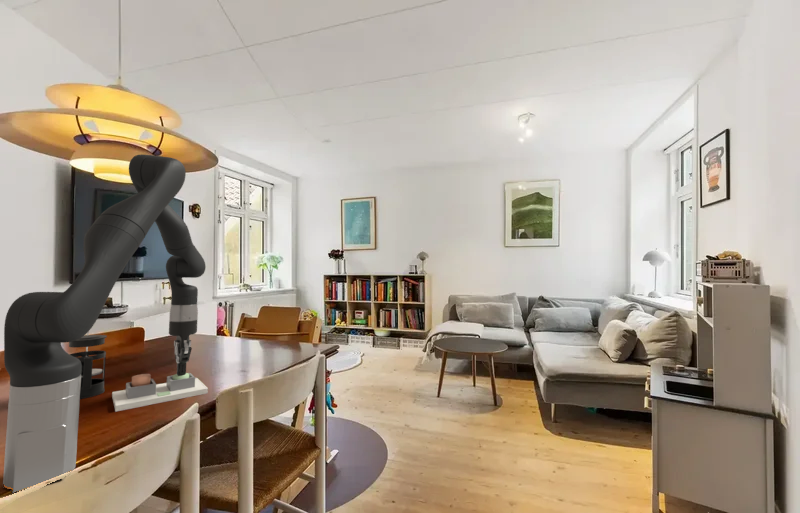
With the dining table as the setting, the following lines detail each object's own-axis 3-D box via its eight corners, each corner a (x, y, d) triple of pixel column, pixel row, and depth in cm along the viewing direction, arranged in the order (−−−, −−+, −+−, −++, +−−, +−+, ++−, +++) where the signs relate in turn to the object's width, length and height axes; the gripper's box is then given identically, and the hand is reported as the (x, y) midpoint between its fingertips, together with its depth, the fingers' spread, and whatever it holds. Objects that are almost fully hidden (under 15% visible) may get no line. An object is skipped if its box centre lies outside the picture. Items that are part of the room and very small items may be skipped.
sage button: (190, 385, 108) (190, 375, 108) (173, 388, 105) (174, 377, 105) (187, 381, 111) (187, 372, 111) (170, 384, 108) (171, 374, 108)
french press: (61, 393, 105) (66, 316, 106) (102, 386, 111) (106, 314, 112) (63, 403, 96) (68, 320, 98) (107, 395, 103) (111, 317, 104)
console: (207, 393, 107) (208, 378, 107) (115, 411, 92) (116, 394, 92) (196, 382, 117) (197, 368, 117) (112, 397, 102) (112, 381, 102)
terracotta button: (151, 386, 101) (151, 376, 101) (132, 390, 98) (132, 379, 98) (149, 383, 104) (149, 372, 104) (130, 386, 101) (131, 375, 101)
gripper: (202, 320, 106) (200, 377, 106) (192, 315, 116) (190, 368, 115) (173, 322, 101) (171, 382, 101) (165, 317, 111) (163, 372, 110)
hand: (181, 374), depth 108 cm, fingers closed
